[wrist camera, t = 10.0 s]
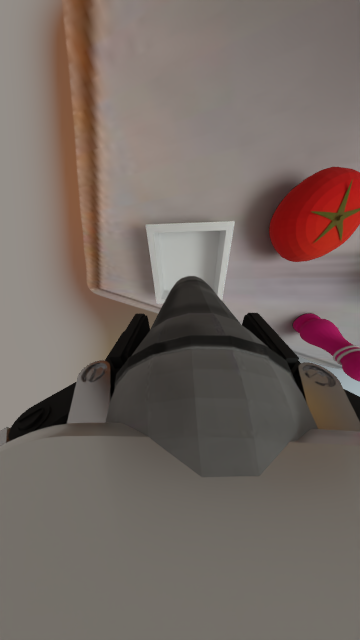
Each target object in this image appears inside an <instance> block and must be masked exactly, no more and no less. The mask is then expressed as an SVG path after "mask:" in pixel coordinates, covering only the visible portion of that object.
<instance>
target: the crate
mask: <svg viewBox="0 0 360 640" xmlns="http://www.w3.org/2000/svg"><path fill="white" fill-rule="evenodd" d="M234 224H235V221H226V222H200V223H174V224H148V225H146V231H147V238H148V245H149V252H150V259H151V266H152V274H153V281H154V288H155V295H156V302H157V304H164V302H165V300H166V298H167V296H168V294H169V292H170V291H171V289H172V288H173V286H174V285H175V283H176V282H177V281H178V280H180V279H181V278H184V277H187V276H196V277H199V278H201V279H202V280H204V281H205V282H206V283H207V284H208V285H209V286H210V287H211V288H212V289H213V291H214V292H215V293H216V294H217V296H218V297H219V298H220V299H221V300H222V298H223V292H224V285H225V279H226V273H227V267H228V261H229V254H230V248H231V242H232V236H233V230H234Z"/></svg>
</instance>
